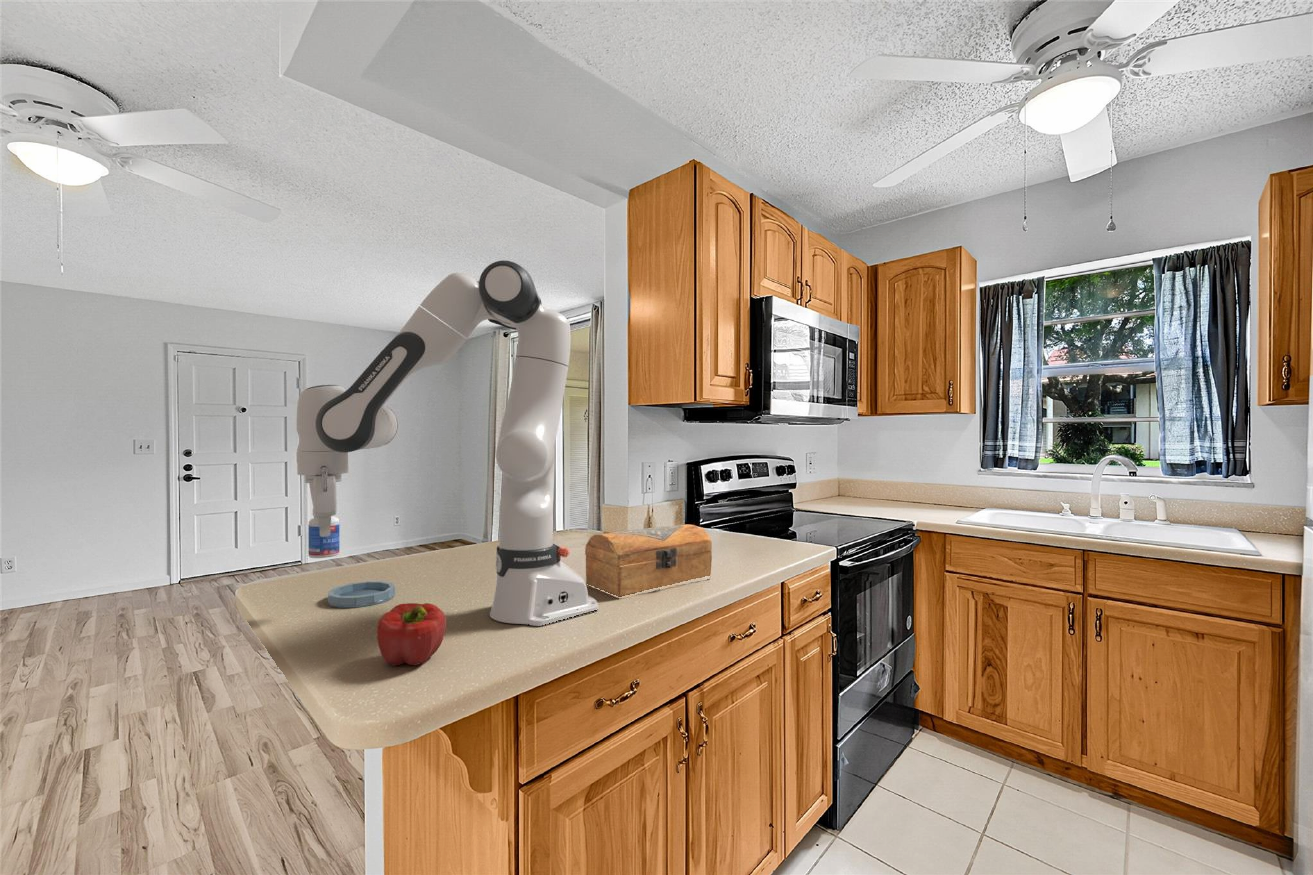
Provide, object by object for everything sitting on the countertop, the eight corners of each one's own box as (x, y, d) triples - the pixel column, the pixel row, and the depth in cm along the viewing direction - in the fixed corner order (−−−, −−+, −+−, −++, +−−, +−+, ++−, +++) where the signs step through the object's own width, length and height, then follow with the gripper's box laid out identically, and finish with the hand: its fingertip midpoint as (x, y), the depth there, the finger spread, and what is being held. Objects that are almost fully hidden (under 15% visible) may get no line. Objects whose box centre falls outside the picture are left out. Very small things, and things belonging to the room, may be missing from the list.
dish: (390, 587, 131) (390, 578, 131) (397, 601, 120) (398, 591, 120) (327, 595, 124) (327, 586, 124) (329, 611, 113) (329, 601, 113)
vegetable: (456, 664, 88) (457, 602, 88) (388, 682, 82) (389, 616, 82) (432, 644, 97) (433, 588, 97) (369, 659, 90) (369, 599, 90)
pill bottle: (325, 559, 107) (324, 510, 107) (301, 558, 108) (301, 509, 108) (346, 553, 112) (345, 506, 112) (323, 552, 113) (323, 505, 113)
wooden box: (619, 601, 123) (620, 540, 123) (583, 585, 136) (584, 530, 136) (716, 581, 141) (716, 528, 141) (675, 568, 154) (676, 519, 154)
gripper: (344, 467, 103) (345, 539, 103) (338, 462, 120) (339, 525, 120) (304, 468, 100) (306, 543, 100) (304, 464, 117) (305, 528, 117)
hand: (324, 533), depth 110 cm, fingers closed on pill bottle, 5 cm apart
